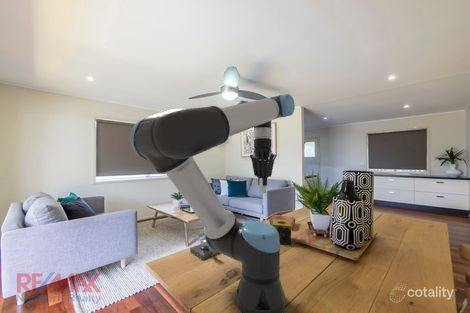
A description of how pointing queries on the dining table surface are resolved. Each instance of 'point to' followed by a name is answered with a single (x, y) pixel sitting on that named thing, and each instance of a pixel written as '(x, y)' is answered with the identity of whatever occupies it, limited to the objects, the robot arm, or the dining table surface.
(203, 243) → the cam capstan
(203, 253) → the level stand
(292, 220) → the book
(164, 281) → the dining table surface
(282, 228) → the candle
